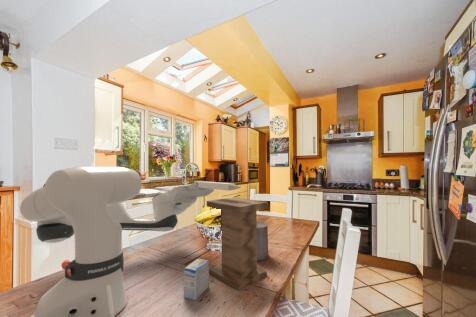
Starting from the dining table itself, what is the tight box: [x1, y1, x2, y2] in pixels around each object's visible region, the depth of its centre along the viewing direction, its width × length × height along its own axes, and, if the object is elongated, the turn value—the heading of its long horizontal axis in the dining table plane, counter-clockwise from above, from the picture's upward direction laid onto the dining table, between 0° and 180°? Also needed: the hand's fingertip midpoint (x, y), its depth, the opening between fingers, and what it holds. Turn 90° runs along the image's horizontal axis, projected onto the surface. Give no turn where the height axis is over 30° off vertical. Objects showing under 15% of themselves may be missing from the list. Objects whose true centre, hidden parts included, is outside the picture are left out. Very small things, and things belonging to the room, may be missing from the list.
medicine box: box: [183, 258, 210, 301], centre depth 69 cm, size 8×4×9 cm, turn 159°
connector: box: [194, 180, 239, 191], centre depth 92 cm, size 4×26×2 cm, turn 43°
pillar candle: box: [257, 221, 269, 261], centre depth 97 cm, size 10×10×15 cm
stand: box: [206, 197, 269, 291], centre depth 81 cm, size 14×18×26 cm
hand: (201, 183), depth 99 cm, fingers closed on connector, 4 cm apart
